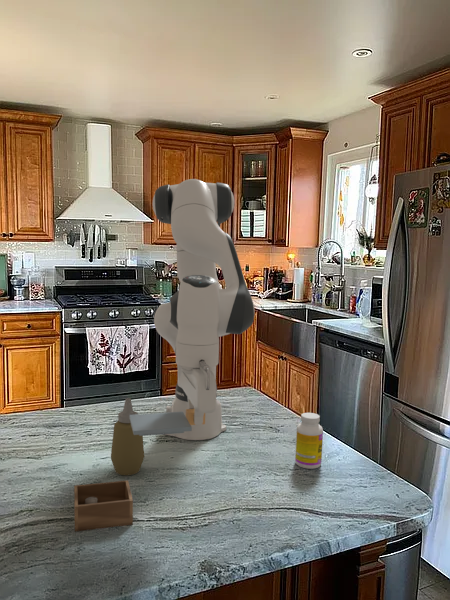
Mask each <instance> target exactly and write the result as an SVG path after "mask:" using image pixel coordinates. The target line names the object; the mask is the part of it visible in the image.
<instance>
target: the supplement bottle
mask: <svg viewBox="0 0 450 600" xmlns="http://www.w3.org/2000/svg"><path fill="white" fill-rule="evenodd" d="M320 418H321V415H320V414H318V413H313V412H303V413H301V414H300V421H301V422H300V423H299V424H297V426H296V435H295V437H296V438H295V454H294V455H295V456H294V458H295V459H294V461H295V464H296V465H297V466H298V467H300V468H304V469H308V470H310V469H311V470H313V469H317V468H320V467H321V465H322V459H323V455H322V454H323V438H324V437H323V436H324V435H323V434H324V429H323V426H322V425H320V421H321V419H320Z"/></svg>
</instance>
